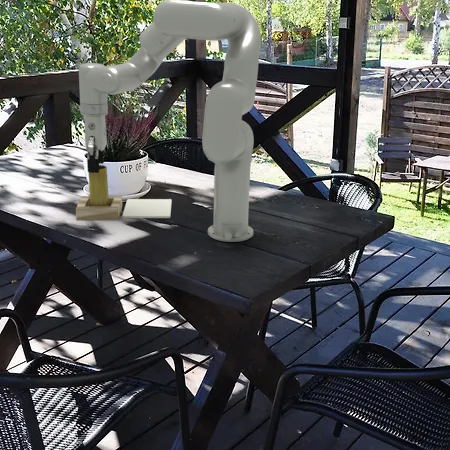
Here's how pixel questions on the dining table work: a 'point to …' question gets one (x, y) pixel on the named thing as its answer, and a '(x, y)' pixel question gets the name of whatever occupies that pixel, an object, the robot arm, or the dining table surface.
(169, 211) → the board
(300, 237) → the dining table surface
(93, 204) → the vase
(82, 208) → the holder
